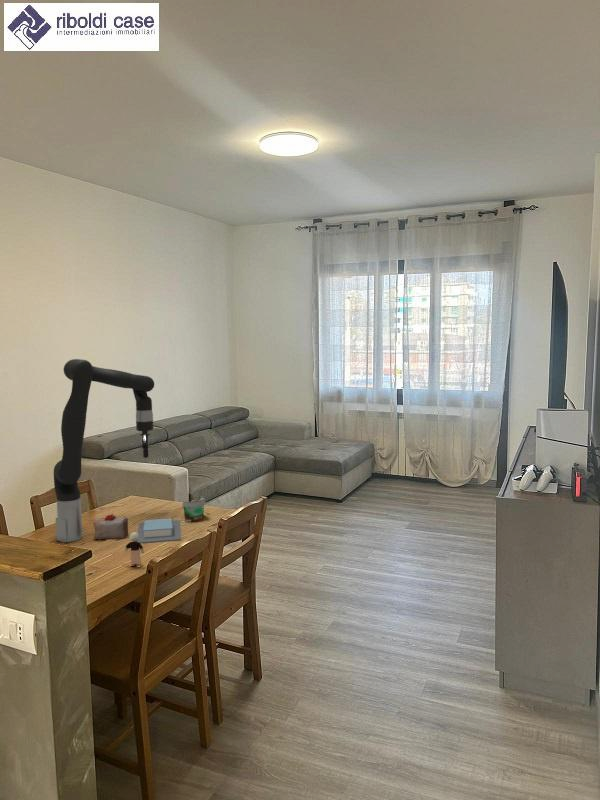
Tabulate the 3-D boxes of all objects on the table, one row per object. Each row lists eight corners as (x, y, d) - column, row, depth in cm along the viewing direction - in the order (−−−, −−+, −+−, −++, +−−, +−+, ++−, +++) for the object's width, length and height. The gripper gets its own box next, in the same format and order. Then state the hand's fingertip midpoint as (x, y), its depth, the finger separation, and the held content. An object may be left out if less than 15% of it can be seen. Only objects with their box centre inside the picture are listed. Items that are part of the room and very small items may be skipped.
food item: (91, 541, 244) (90, 518, 243) (98, 534, 252) (97, 512, 251) (125, 540, 244) (124, 517, 243) (130, 534, 252) (129, 511, 251)
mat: (181, 540, 243) (180, 538, 243) (135, 543, 240) (135, 542, 240) (180, 521, 269) (180, 520, 269) (139, 524, 265) (139, 523, 265)
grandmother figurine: (147, 563, 218) (146, 530, 217) (144, 567, 215) (142, 534, 213) (126, 563, 219) (125, 530, 217) (123, 567, 215) (121, 533, 214)
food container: (192, 525, 262) (192, 503, 261) (182, 523, 266) (182, 501, 265) (211, 518, 272) (211, 497, 271) (201, 516, 276) (201, 495, 275)
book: (144, 520, 258) (143, 530, 244) (172, 518, 260) (172, 528, 246) (145, 528, 258) (143, 538, 244) (173, 526, 260) (173, 536, 247)
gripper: (152, 421, 262) (154, 459, 264) (153, 417, 275) (154, 454, 277) (135, 422, 261) (136, 460, 263) (136, 418, 274) (138, 455, 276)
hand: (146, 457), depth 270 cm, fingers closed
